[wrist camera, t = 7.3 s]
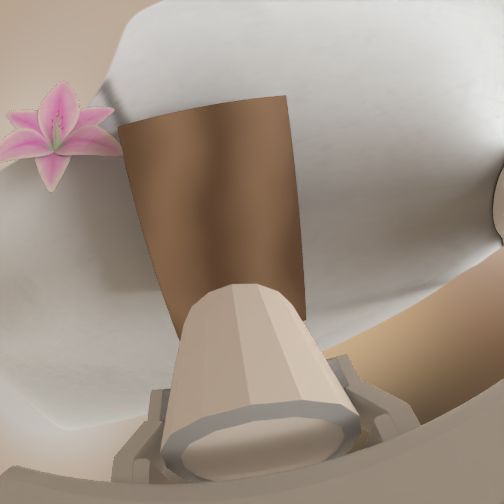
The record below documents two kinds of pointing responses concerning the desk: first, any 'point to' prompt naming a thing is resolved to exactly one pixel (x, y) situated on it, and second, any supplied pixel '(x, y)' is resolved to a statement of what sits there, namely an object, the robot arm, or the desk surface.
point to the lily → (58, 134)
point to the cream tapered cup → (252, 391)
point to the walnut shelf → (218, 200)
